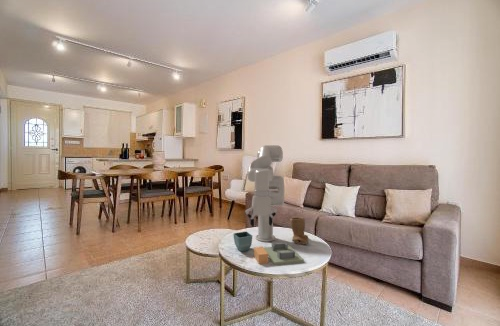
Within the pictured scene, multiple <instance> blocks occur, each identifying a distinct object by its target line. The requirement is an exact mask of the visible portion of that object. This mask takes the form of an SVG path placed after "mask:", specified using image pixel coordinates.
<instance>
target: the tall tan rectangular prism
mask: <svg viewBox="0 0 500 326" xmlns="http://www.w3.org/2000/svg"><path fill="white" fill-rule="evenodd" d="M253 257H254V258H255V260H256V262H257V264H258V265H261V264H268V263H269V257H268V253H267V252H266V250H265V249H264V247H263V246H256V247H253Z"/></svg>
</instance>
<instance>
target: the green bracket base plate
mask: <svg viewBox="0 0 500 326" xmlns="http://www.w3.org/2000/svg"><path fill="white" fill-rule="evenodd" d="M263 248H264V249H265V250H266V252H267V253H268V259H269V260H270V261H271V262H272V264H273V266H280V265H291V264H301V263H304V262H305V260H304V258H303V257H302V256H301V255H300V253H298V252H297V251H296V249H294V248H293V247H292V246H291V245H288V243H287V242H278V243H276V242H275V243H271V246H264V247H263Z"/></svg>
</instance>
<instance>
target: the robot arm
mask: <svg viewBox="0 0 500 326" xmlns="http://www.w3.org/2000/svg"><path fill="white" fill-rule="evenodd" d="M283 154H284V151H283V149H282V147H281V146H280V145H270V144H269V145H262V146H261V147H260V149H259V150H258V151H257V153H256V159H254V160H252V161H251V162H250V164H249V166H248V170H247V180H248V181H249V182H252V183H254V195H252V199H251V207H249V208H247V209H245V211H244V213H245V214H246V215H247V217H248V218H249V220H250V222H249V223H250V226H251V227H253V228H254V227H255V219H254V218H255V217H256V216H257V217H258V218H257V220H258V222H257V223H258V226H257V229H258V232H257V233H258V234H257V235H256V236H255V239H256V240H257V241H259V242H273V241H275V240H276V236H275V235H274V234H273V233H274V229H273V228H274V224H273V223H274V217H275V216H276V215H277V212H278V208H275V207H277V206H278V207H280V206H281V207H282V206H283V205H284V203H285V179H284V177H283V176H281V175H274V168H273V167H272V164H273V163H281V162H282V161H283V160H284V159H283V158H284V155H283ZM274 206H275V207H274ZM250 212H251V214H250Z"/></svg>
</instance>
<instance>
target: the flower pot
mask: <svg viewBox="0 0 500 326" xmlns="http://www.w3.org/2000/svg"><path fill="white" fill-rule="evenodd" d="M233 240H234V244H235V247H236V248H237V250H238V251H240V252H245V251H249V249H250V248H251V246H252V242H253V235H252V234H251V233H249V232H248V231H240V232H234V233H233Z"/></svg>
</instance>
